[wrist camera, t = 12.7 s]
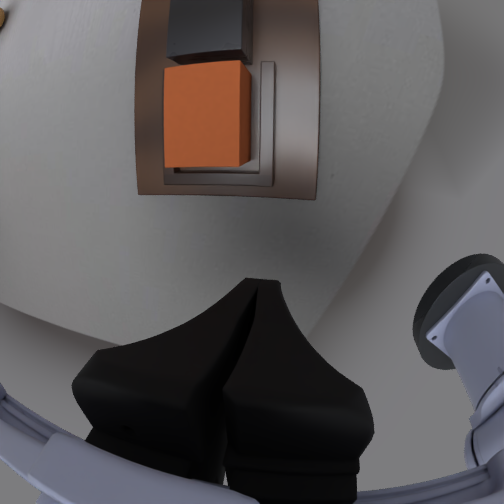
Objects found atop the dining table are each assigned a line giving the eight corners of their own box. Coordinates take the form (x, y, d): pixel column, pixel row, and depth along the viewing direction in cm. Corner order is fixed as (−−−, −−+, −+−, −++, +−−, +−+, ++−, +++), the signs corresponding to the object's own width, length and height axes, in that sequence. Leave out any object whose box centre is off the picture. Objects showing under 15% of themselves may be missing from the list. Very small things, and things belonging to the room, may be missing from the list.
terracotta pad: (250, 160, 17) (239, 167, 14) (188, 161, 17) (164, 167, 14) (251, 73, 15) (240, 59, 12) (188, 78, 15) (164, 68, 12)
